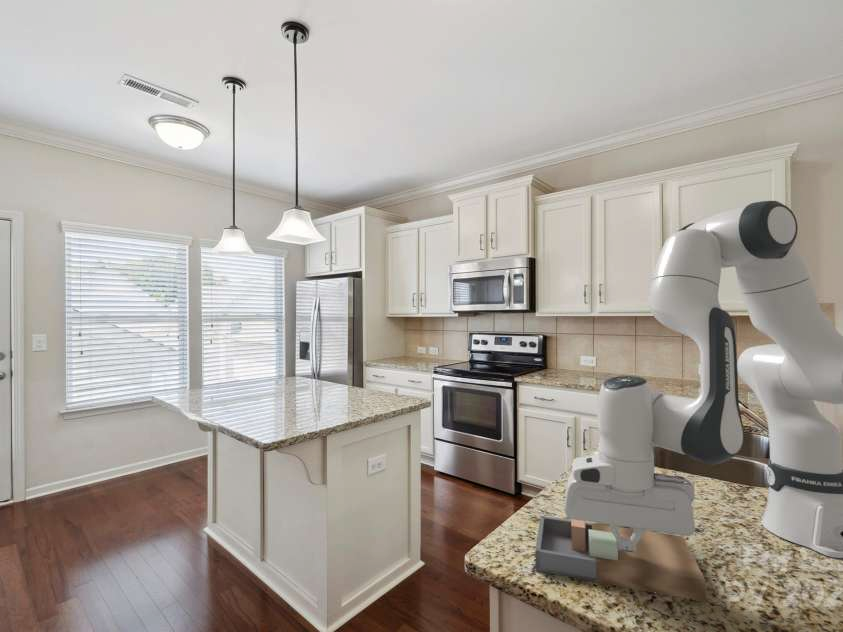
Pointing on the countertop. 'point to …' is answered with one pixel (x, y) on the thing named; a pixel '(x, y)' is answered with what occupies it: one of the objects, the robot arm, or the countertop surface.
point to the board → (653, 566)
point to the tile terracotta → (578, 535)
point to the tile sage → (603, 545)
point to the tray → (562, 550)
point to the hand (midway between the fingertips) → (626, 549)
